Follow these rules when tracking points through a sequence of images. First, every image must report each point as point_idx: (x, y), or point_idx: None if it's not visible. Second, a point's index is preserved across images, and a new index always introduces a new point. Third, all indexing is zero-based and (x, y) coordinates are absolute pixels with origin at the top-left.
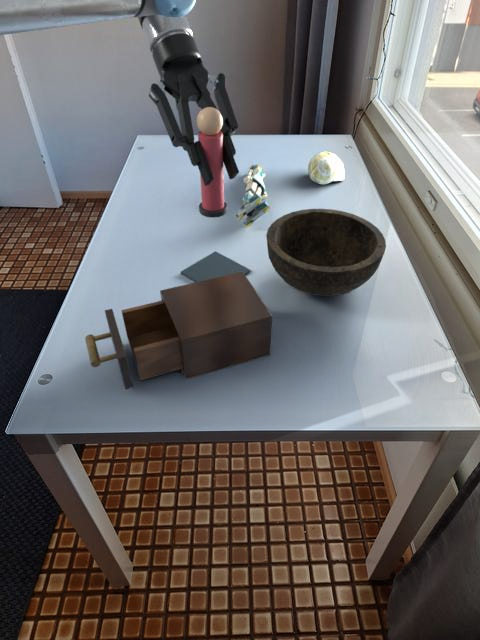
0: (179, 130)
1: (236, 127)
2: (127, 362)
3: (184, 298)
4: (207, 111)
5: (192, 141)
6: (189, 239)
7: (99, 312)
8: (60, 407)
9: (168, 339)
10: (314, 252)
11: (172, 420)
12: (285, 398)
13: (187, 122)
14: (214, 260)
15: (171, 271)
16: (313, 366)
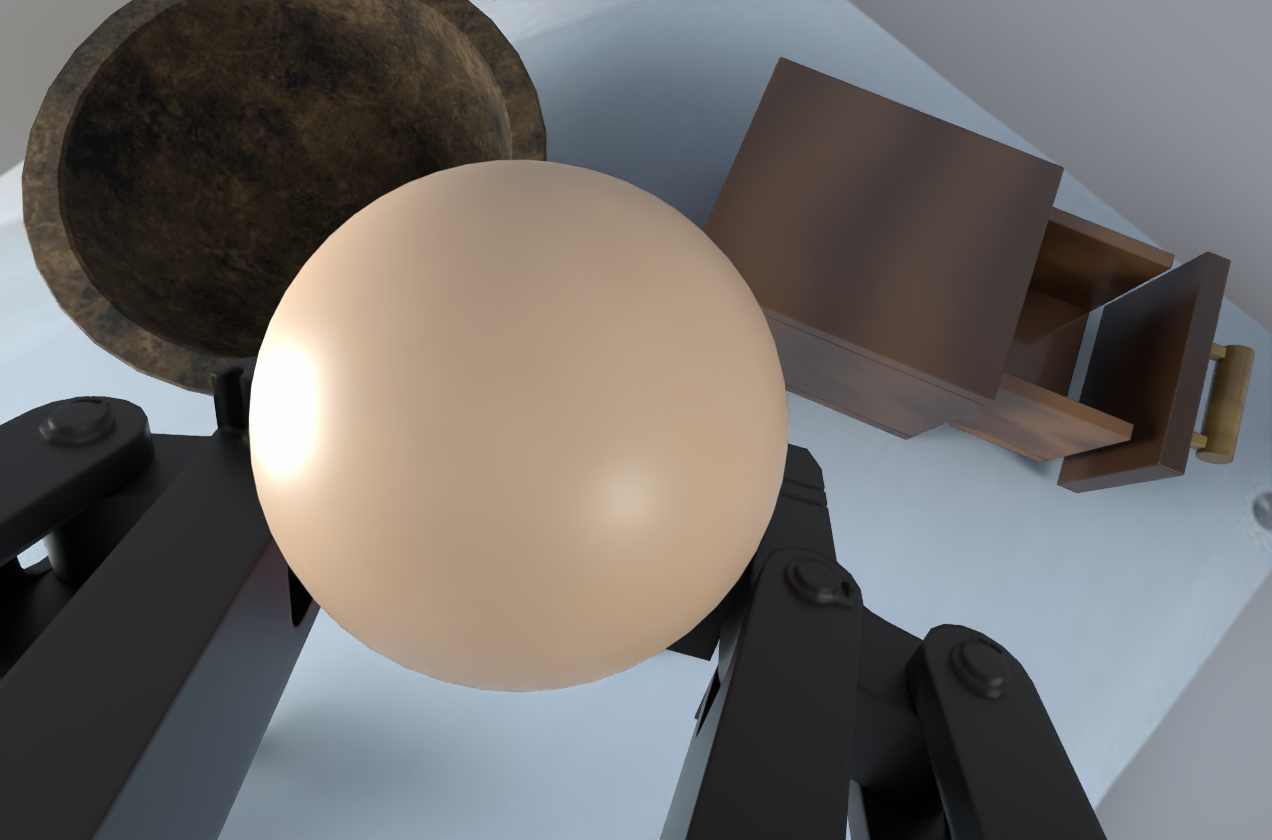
0: (966, 744)
1: (95, 399)
2: (1185, 263)
3: (948, 305)
4: (650, 272)
5: (800, 552)
6: (497, 837)
7: (1036, 665)
8: (1264, 397)
9: (1069, 225)
10: (266, 322)
11: (1058, 186)
12: (816, 58)
13: (784, 806)
14: None
15: (708, 685)
16: (690, 69)
